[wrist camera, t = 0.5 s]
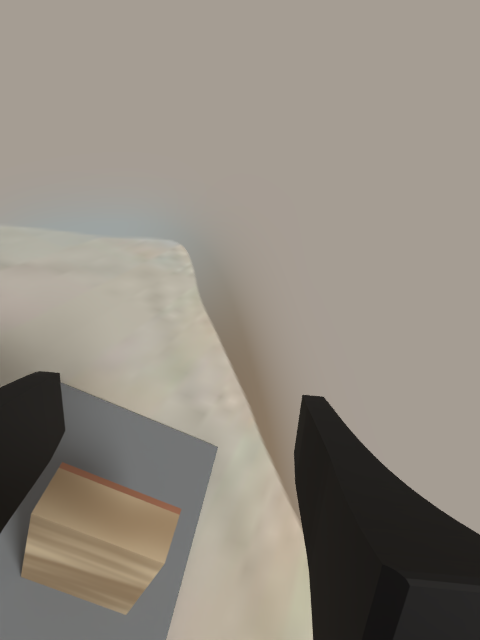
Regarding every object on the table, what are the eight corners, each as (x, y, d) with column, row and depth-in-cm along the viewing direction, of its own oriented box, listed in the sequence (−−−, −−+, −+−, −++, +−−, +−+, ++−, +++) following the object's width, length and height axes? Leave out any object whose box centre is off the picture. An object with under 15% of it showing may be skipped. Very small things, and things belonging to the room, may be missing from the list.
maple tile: (126, 614, 23) (164, 563, 18) (20, 576, 22) (31, 513, 17) (142, 566, 25) (181, 508, 20) (46, 530, 24) (62, 461, 19)
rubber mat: (106, 854, 17) (108, 855, 17) (-267, 740, 16) (-271, 739, 16) (216, 449, 33) (217, 447, 33) (34, 375, 32) (35, 371, 31)
